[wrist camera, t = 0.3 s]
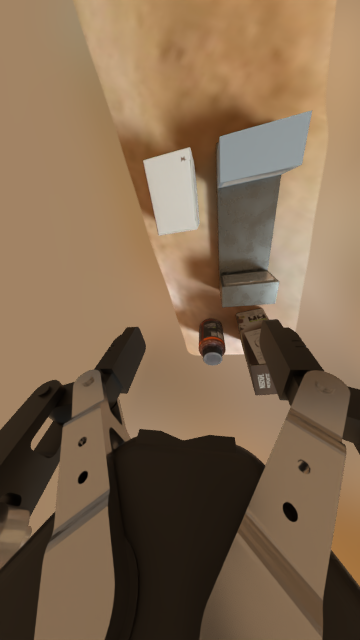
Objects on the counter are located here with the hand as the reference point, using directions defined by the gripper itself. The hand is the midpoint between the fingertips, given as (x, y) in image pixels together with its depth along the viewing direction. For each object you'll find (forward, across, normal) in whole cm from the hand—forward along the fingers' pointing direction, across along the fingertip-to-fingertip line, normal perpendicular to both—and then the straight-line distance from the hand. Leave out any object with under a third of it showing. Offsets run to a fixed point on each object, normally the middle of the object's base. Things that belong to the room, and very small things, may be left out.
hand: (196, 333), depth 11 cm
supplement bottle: (+26, 0, +20) cm, 33 cm away
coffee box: (+26, -10, +20) cm, 34 cm away
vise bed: (+26, -8, -3) cm, 28 cm away
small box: (+27, +3, -8) cm, 28 cm away
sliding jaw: (+24, -8, -11) cm, 28 cm away
